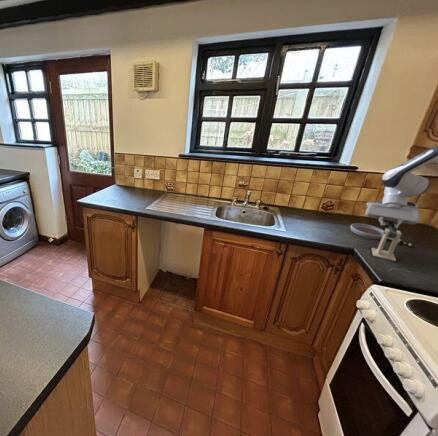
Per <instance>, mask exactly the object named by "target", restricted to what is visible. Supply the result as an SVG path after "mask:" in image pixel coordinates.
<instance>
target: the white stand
mask: <svg viewBox="0 0 438 436" xmlns="http://www.w3.org/2000/svg"><path fill="white" fill-rule="evenodd" d="M383 231H384V233H383V236H382V239H380V241H379V243H378V245H377V248H376V247H371V254H372V256H373V257H376V258H380V259H384V260H389V261H392V262H397V259H396V256H395V254H394V253H395V252H394V251H395V249H396V248H397V245H398V244H399V243H398V241H399V239H400V240H401V237H402V232H401V231H400V230H398V229H396V236H395V238H392V239H393V240H391V243H390V245H389V248H388V250H383V249H384V247H385V244H386V243H387V240H388V239H387V238H388V235H389V233H390V230H389V229H388V228H386V227H385V229H384V230H383Z"/></svg>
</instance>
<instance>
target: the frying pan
mask: <svg viewBox="0 0 438 436" xmlns="http://www.w3.org/2000/svg"><path fill="white" fill-rule="evenodd" d="M350 231H351V232H352V233H354V234H355V235H357V236H361V237H364V238H367V239H372V240H381V239H382V236H383V233H384V231H385V230H383V229H382V228H379V227H377V226H373V225H371V224H365V223H352V224H351V225H350ZM387 240H390V241H393V238H391V237H388V238H387ZM399 243H401V244H403V245H407V246H408V247H412V246H413V244H412V242H411V243H409V242H405V241H402V239H401V238H400V239H399V241H398V243H397V244H399Z"/></svg>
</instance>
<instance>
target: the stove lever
mask: <svg viewBox="0 0 438 436" xmlns="http://www.w3.org/2000/svg"><path fill="white" fill-rule="evenodd" d="M394 224H395V222H394V221H386V223H385V226H384V227H385V229H386V228H388V229H389V230H390V233H389V235H388V237H389V238H392V239H393V238H395V236H396V231H397V230H396V231H395V230H394V228H393V227H394Z"/></svg>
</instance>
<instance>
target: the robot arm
mask: <svg viewBox="0 0 438 436" xmlns="http://www.w3.org/2000/svg"><path fill="white" fill-rule="evenodd" d="M433 163H438V144H437V145H435V146H432V147H430V148H428V149H426V150H424V151H422V152H421V153H419V154H417V155H416V156H414V157H412V158H410V159H409V160H407V161H405V162H402V163H401V164H399V165H397V166H395V167H393V168H390V169H387V170H386V171H385V172H384V173H383V174H382V176H381V183H382V185H383V186H384V190H383V194H384V196H383V197H382V200H381V201H374V200H372V201H371V200H370V201H368V202H367V203H366V207H367V208H366V210H365V212H364V215H365V217H368V218H372V219H373V218H374V219H377V220H378V222H379V223H380V227H385V223H386V222H387V221H389V222H394V227H393V228H392V229H395V230H398V228H399V226H400V225H401V224H406V225H413V226H415V225H416V224H418V223H419V222H420V219H421V215H420V214H421V213H420V209H418V208H419V204H418V203H415V202H413V201H411V200H407V198H413V197H416V196H420V195H424V194H425V193H426V192H427V191H428V190H429V188H430V184H431V183H430V180H429V178H427V177H424V176H421V175H418V174H416V173H414V172H415V171H416V170H419V169H420V168H422V167H425V166H426V165H428V164H433ZM385 221H386V222H385ZM395 222H396V223H395Z"/></svg>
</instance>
